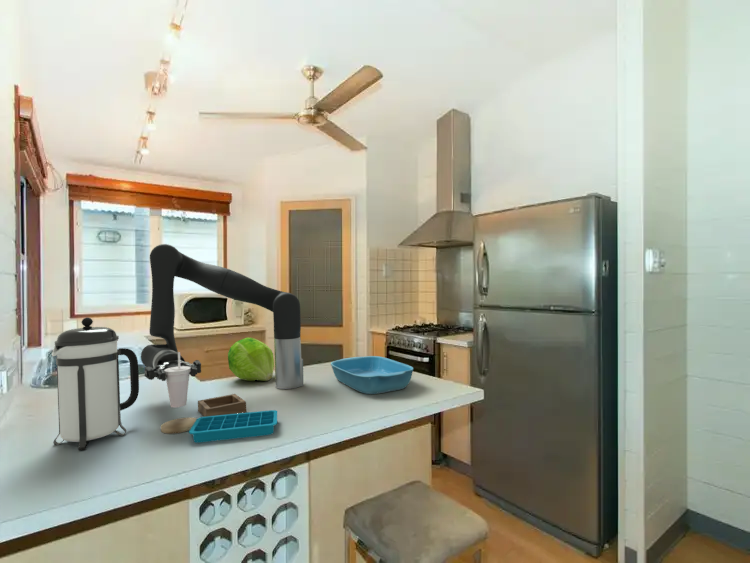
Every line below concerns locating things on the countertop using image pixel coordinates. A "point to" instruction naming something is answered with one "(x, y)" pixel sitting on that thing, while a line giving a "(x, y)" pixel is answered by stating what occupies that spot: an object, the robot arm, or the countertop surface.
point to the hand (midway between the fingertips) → (179, 374)
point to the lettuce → (251, 360)
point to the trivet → (178, 425)
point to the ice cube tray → (234, 426)
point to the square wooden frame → (222, 405)
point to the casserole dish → (372, 374)
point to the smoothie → (177, 384)
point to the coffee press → (91, 383)
